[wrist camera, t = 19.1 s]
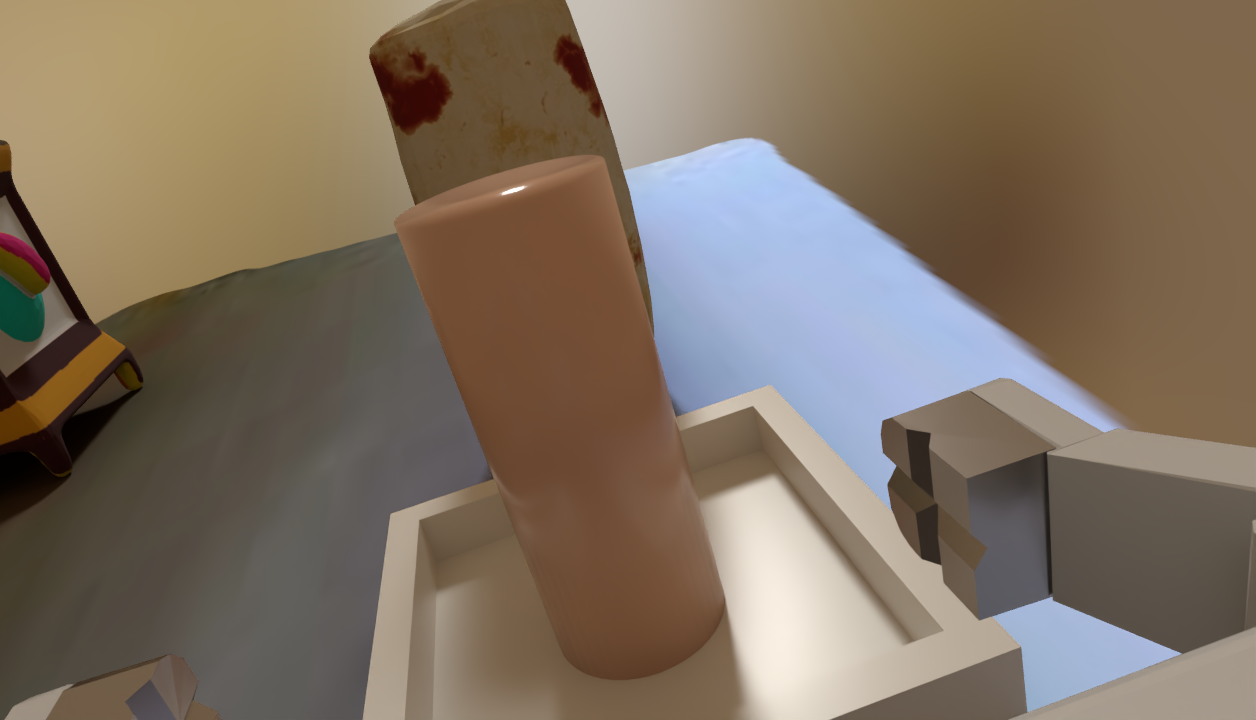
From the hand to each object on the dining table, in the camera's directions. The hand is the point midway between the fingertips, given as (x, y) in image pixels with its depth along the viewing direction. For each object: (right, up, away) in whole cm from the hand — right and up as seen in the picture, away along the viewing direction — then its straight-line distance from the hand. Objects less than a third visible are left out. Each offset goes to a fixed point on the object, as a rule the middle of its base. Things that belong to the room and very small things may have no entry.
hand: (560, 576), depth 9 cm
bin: (+1, -6, +17) cm, 18 cm away
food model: (-1, 0, +34) cm, 34 cm away
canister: (+1, -6, +17) cm, 18 cm away
